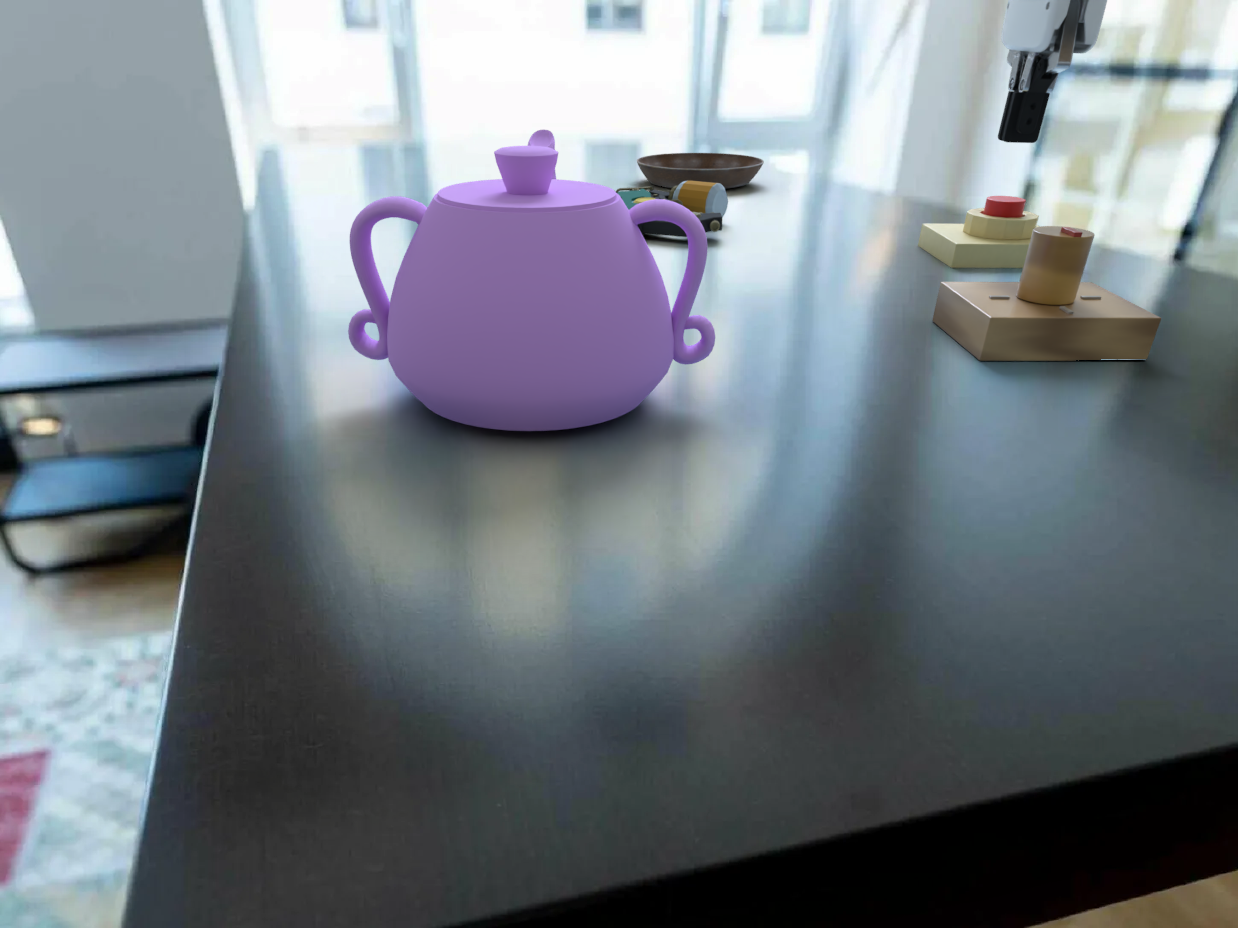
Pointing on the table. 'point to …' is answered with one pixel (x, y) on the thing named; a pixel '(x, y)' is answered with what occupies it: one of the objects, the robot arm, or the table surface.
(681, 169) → the plant saucer
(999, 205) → the button
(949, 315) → the panel
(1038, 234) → the dial knob
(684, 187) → the spray gun
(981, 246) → the button box
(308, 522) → the table surface
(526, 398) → the purple sugar bowl
